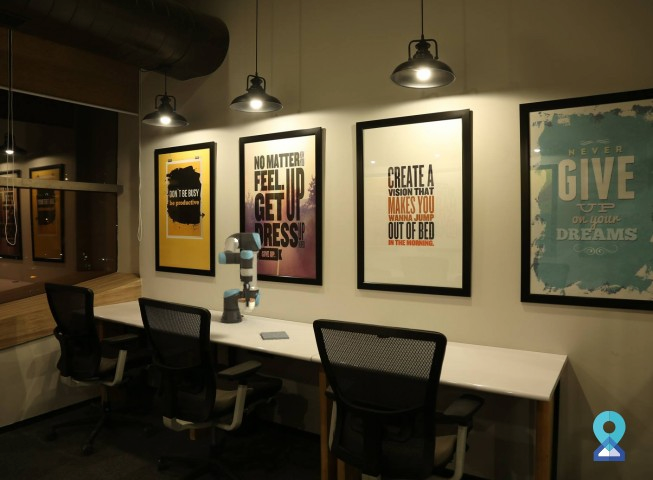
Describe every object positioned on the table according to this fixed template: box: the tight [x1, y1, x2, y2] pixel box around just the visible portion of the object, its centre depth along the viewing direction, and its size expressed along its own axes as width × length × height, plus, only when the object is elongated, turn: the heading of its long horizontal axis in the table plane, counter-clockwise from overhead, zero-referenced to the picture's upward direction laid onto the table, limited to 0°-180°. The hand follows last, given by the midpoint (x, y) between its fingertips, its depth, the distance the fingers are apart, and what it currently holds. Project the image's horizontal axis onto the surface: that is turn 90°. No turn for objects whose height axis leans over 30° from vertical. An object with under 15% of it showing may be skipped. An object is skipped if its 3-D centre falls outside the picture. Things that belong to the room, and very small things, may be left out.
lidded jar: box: [238, 298, 255, 313], centre depth 299 cm, size 11×11×9 cm
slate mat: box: [260, 330, 290, 341], centre depth 305 cm, size 16×16×1 cm
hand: (246, 310), depth 299 cm, fingers closed on lidded jar, 11 cm apart
